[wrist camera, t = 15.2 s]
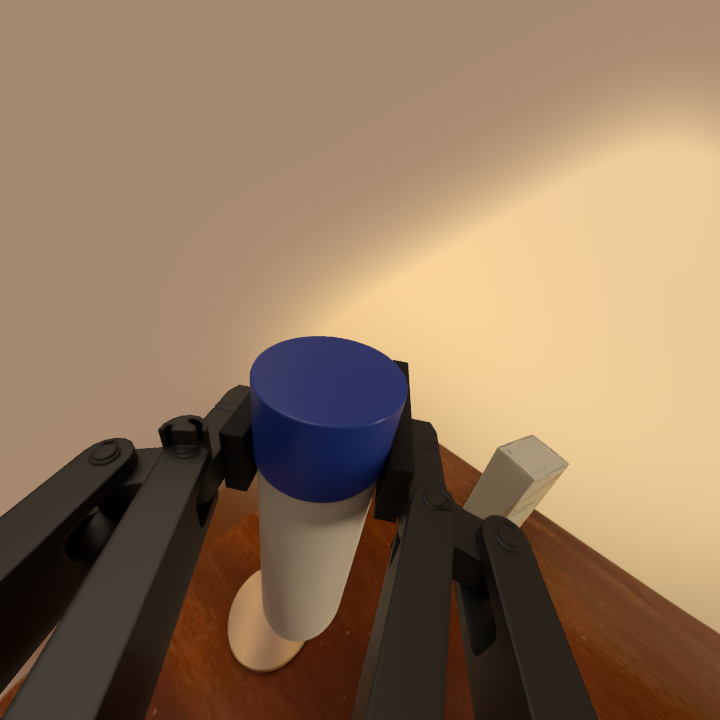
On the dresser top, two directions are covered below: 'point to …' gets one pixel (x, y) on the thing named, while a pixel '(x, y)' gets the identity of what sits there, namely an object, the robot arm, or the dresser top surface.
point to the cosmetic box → (516, 480)
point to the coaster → (256, 632)
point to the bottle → (317, 469)
